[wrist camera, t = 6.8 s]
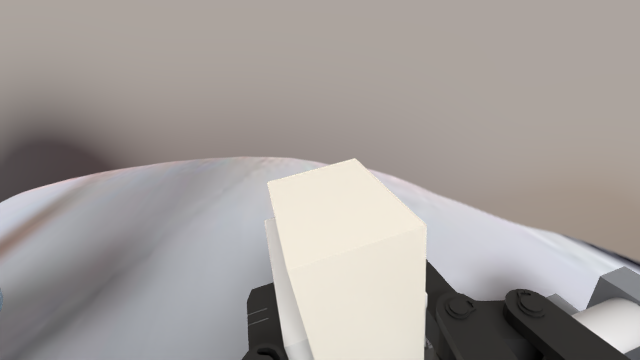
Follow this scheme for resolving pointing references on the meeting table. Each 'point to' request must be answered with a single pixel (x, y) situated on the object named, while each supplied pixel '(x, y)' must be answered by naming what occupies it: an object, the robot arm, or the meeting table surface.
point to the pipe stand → (611, 311)
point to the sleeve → (353, 263)
